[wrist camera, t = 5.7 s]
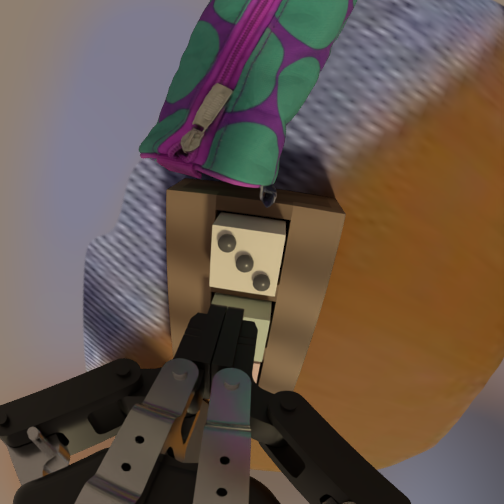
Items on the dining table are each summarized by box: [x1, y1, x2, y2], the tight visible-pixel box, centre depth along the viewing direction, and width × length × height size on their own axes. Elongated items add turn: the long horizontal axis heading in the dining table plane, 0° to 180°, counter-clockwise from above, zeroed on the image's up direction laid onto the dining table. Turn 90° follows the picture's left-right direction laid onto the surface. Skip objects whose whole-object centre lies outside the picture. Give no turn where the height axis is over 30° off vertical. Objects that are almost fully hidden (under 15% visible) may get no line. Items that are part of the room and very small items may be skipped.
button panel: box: [166, 178, 346, 394], centre depth 24 cm, size 20×12×4 cm, turn 173°
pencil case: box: [139, 0, 357, 208], centre depth 13 cm, size 21×9×10 cm, turn 158°
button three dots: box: [209, 212, 286, 297], centre depth 19 cm, size 4×4×3 cm
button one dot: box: [211, 293, 272, 362], centre depth 22 cm, size 4×4×3 cm
